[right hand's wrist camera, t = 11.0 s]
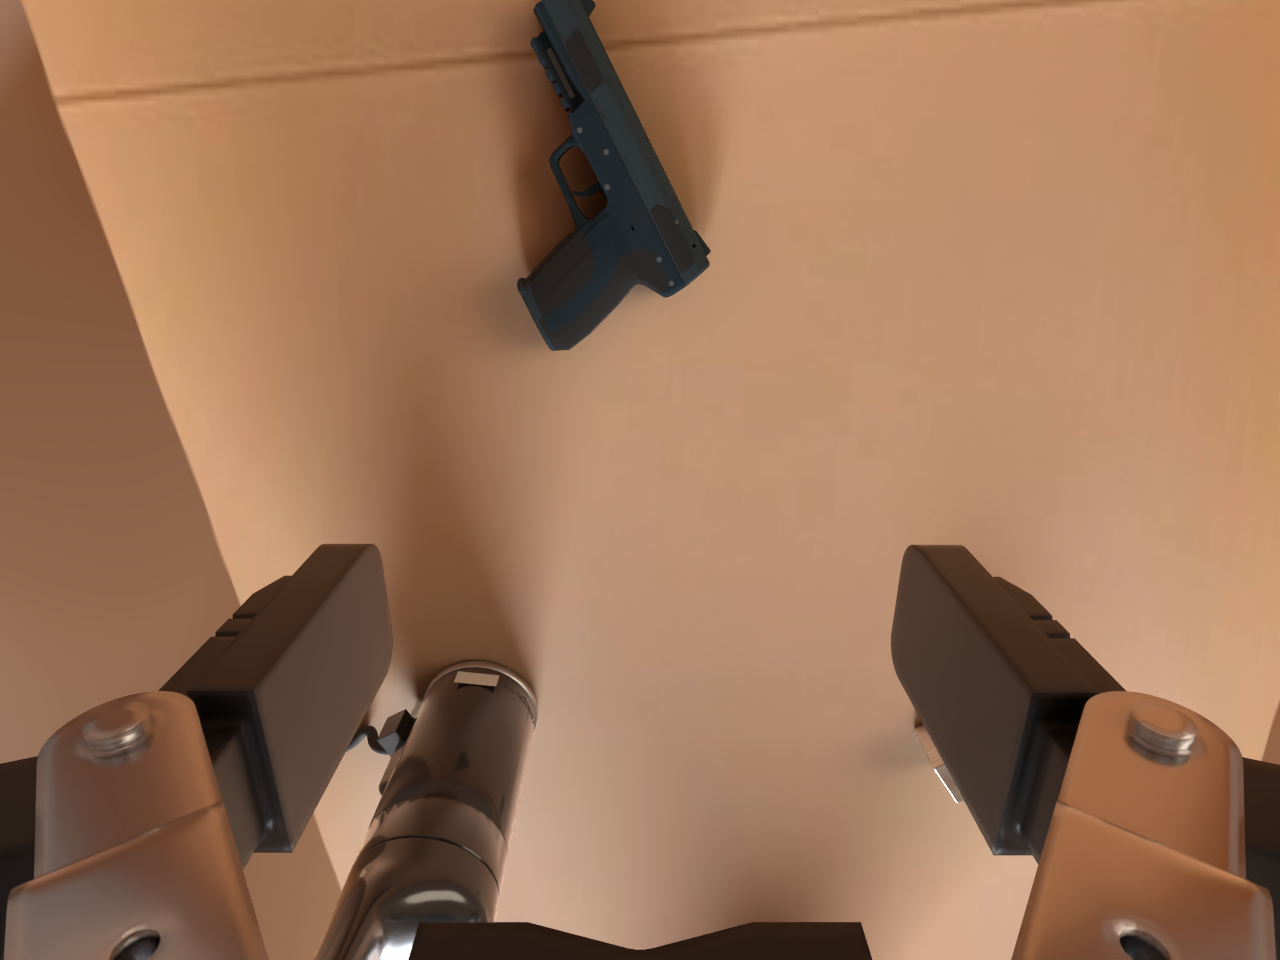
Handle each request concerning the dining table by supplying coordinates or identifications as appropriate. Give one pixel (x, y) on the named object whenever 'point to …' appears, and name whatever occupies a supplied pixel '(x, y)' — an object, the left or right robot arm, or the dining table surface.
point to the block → (937, 762)
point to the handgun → (604, 192)
